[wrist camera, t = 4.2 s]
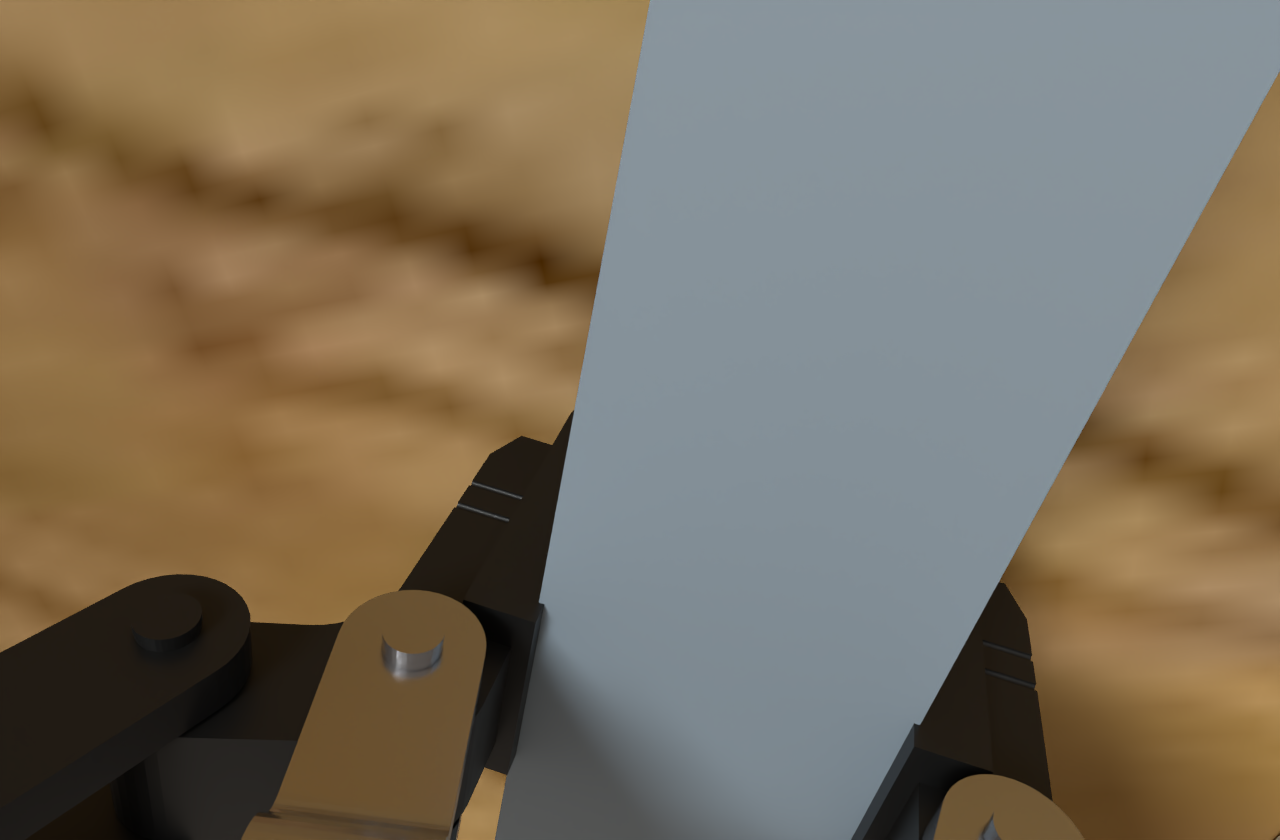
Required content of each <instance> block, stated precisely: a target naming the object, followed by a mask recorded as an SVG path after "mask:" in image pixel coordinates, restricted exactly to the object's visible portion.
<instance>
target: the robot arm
mask: <svg viewBox="0 0 1280 840" xmlns="http://www.w3.org/2000/svg"><path fill="white" fill-rule="evenodd" d="M573 415H574V411H573V412H572V413H571V414H570V416H569V417H568V419H567V421H566V423H565V424H564V426H563V428H562V430H561V431H560V433H559V435H558V436H557V438H556V440H555V442H554V443H553V445H550V444H547V443H543V442H540V441H537V440H533V439H530V438H527V437H524V436H521V437H519V438H517V439H515V440H514V441H512V442H510V443H508V444H507V445H505V446H503V447H501V448H500V449H498V450H496V451H494V452H493V453H491V454H490V455H489V457H488V458H487V460H486V461H485V463H484V464H483V466H482V467H481V469H480V470H479V472H478V473H477V475H476V476H475V478H474V479H473V481H472V485H471V486H469V487H468V488H467V489H466V491H465V492H464V494H463V495H462V497H461V498H460V500H459V501H458V505H457V507H456V508H455V507H454V509H453V510H452V512H451V513H450V515H449V516H448V518H447V519H446V521H445V522H444V524H443V525H442V527H441V528H440V530H439V531H438V533H437V534H436V536H435V537H434V539H433V540H432V542H431V543H430V545H429V546H428V548H427V549H426V551H425V552H424V554H423V555H422V557H421V558H420V560H419V561H418V563H417V564H416V566H415V567H414V569H413V570H412V572H411V573H410V575H409V576H408V578H407V579H406V581H405V582H404V584H403V585H402V587H401V588H400V589H399V591H396V592H390V593H387V594H383V595H380V596H377V597H375V598H373V599H371V600H369V601H367V602H365V603H364V604H362V605H361V606H359V607H358V608H357V609H356V610H354V611H353V612H352V613H351V614H350V615H349V616H348V618H347V619H346V620H345V622H341V623H336V624H327V625H296V624H276V623H256V622H250V613H249V610H248V607H247V604H246V603H245V601H244V600H243V598H242V597H241V596H240V595H239V594H238V593H237V592H236V591H235V590H234V589H232V588H231V587H229V586H228V585H226V584H224V583H222V582H220V581H217V580H215V579H211V578H208V577H204V576H197V575H181V574H176V575H166V576H160V577H155V578H150V579H147V580H143V581H140V582H137V583H134V584H132V585H130V586H128V587H126V588H123V589H121V590H119V591H118V592H116V593H114V594H112V595H110V596H108V597H106V598H104V599H102V600H100V601H98V602H97V603H95V604H93V605H91V606H89V607H87V608H85V609H83V610H81V611H79V612H77V613H75V614H74V615H72V616H70V617H68V618H66V619H64V620H62V621H60V622H58V623H56V624H54V625H53V626H51V627H49V628H47V629H45V630H43V631H41V632H39V633H37V634H35V635H33V636H31V637H30V638H28V639H26V640H24V641H22V642H20V643H18V644H16V645H14V646H12V647H10V648H9V649H7V650H5V651H3V652H1V653H0V840H457V838H458V833H459V828H460V822H461V816H462V813H463V812H464V810H465V808H466V806H467V805H468V802H469V800H470V798H471V796H472V794H473V791H474V789H475V787H476V785H477V783H478V780H479V778H480V776H481V774H482V772H483V769H484V767H485V768H488V769H491V770H494V771H497V772H500V773H503V774H506V775H508V772H509V770H510V768H511V765H512V763H513V761H514V758H515V756H516V751H517V746H518V741H519V736H520V730H521V725H522V720H523V715H524V709H525V704H526V699H527V693H528V688H529V683H530V678H531V672H532V667H533V662H534V657H535V651H536V646H537V641H538V635H539V630H540V625H541V620H542V614H543V609H544V604H542V603H539V599H540V594H541V588H542V583H543V577H544V572H545V566H546V561H547V556H548V550H549V545H550V539H551V534H552V529H553V523H554V518H555V512H556V507H557V502H558V496H559V491H560V485H561V480H562V475H563V469H564V464H565V458H566V453H567V448H568V442H569V437H570V431H571V426H572V421H573ZM1031 656H1032V652H1031V645H1030V638H1029V631H1028V624H1027V619H1026V617H1025V616H1024V614H1023V613H1022V611H1021V609H1020V608H1019V606H1018V604H1017V603H1016V601H1015V599H1014V598H1013V596H1012V595H1011V593H1010V591H1009V590H1008V588H1007V586H1006V585H1005V584H1004V583H1000V582H998V584H997V586H996V588H995V590H994V591H993V593H992V595H991V597H990V599H989V601H988V602H987V604H986V606H985V608H984V610H983V611H982V613H981V615H980V617H979V619H978V621H977V622H976V624H975V626H974V628H973V630H972V631H971V633H970V635H969V637H968V639H967V641H966V642H965V644H964V646H963V648H962V650H961V651H960V653H959V655H958V657H957V659H956V661H955V662H954V664H953V666H952V668H951V670H950V671H949V673H948V675H947V677H946V679H945V681H944V682H943V684H942V686H941V688H940V690H939V691H938V693H937V695H936V697H935V699H934V701H933V702H932V704H931V706H930V708H929V710H928V711H927V713H926V715H925V717H924V719H923V721H922V722H921V724H920V725H918V724H915V723H914V724H913V726H912V728H911V730H910V732H909V734H908V735H907V737H906V739H905V741H904V743H903V745H902V747H901V748H900V750H899V752H898V754H897V756H896V758H895V759H894V761H893V763H892V765H891V767H890V769H889V770H888V772H887V774H886V776H885V778H884V780H883V782H882V783H881V785H880V787H879V789H878V791H877V793H876V794H875V796H874V798H873V800H872V802H871V804H870V805H869V807H868V809H867V811H866V813H865V815H864V816H863V818H862V820H861V822H860V824H859V826H858V828H857V829H856V831H855V833H854V835H853V837H852V839H851V840H1084V838H1083V836H1082V834H1081V833H1080V831H1079V830H1078V828H1077V827H1076V826H1075V824H1074V823H1073V822H1072V821H1071V819H1070V818H1069V817H1068V816H1067V815H1066V814H1065V813H1064V812H1063V811H1062V810H1061V809H1060V808H1059V807H1058V806H1057V805H1056V804H1055V803H1053V800H1052V794H1051V787H1050V780H1049V773H1048V765H1047V758H1046V751H1045V744H1044V737H1043V730H1042V723H1041V716H1040V709H1039V702H1038V695H1037V691H1034V688H1035V685H1036V680H1035V673H1034V666H1033V662H1032V661H1030V659H1031Z"/></svg>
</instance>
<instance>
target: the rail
mask: <svg viewBox="0 0 1280 840" xmlns="http://www.w3.org/2000/svg"><path fill="white" fill-rule="evenodd" d="M1279 71H1280V0H650V4H649V10H648V15H647V21H646V26H645V31H644V37H643V42H642V48H641V53H640V58H639V64H638V69H637V75H636V80H635V85H634V91H633V96H632V102H631V107H630V112H629V118H628V123H627V129H626V134H625V139H624V145H623V150H622V156H621V161H620V166H619V172H618V177H617V183H616V188H615V194H614V199H613V204H612V210H611V215H610V221H609V226H608V231H607V237H606V242H605V248H604V253H603V258H602V264H601V269H600V275H599V280H598V285H597V291H596V296H595V302H594V307H593V312H592V318H591V323H590V329H589V334H588V339H587V345H586V350H585V356H584V361H583V366H582V372H581V377H580V383H579V388H578V394H577V399H576V404H575V410H574V415H573V421H572V426H571V431H570V437H569V442H568V448H567V453H566V458H565V464H564V469H563V475H562V480H561V485H560V491H559V496H558V502H557V507H556V512H555V518H554V523H553V529H552V534H551V539H550V545H549V550H548V556H547V561H546V566H545V572H544V577H543V583H542V588H541V594H540V599H539V603H542V604H544V609H543V614H542V620H541V625H540V630H539V635H538V641H537V646H536V651H535V657H534V662H533V667H532V672H531V678H530V683H529V688H528V693H527V699H526V704H525V709H524V715H523V720H522V725H521V730H520V736H519V741H518V746H517V751H516V756H515V758H514V761H513V763H512V765H511V768H510V770H509V772H508V775H507V777H506V783H505V788H504V794H503V799H502V804H501V810H500V815H499V821H498V826H497V831H496V837H495V840H851V839H852V837H853V835H854V833H855V831H856V829H857V828H858V826H859V824H860V822H861V820H862V818H863V816H864V815H865V813H866V811H867V809H868V807H869V805H870V804H871V802H872V800H873V798H874V796H875V794H876V793H877V791H878V789H879V787H880V785H881V783H882V782H883V780H884V778H885V776H886V774H887V772H888V770H889V769H890V767H891V765H892V763H893V761H894V759H895V758H896V756H897V754H898V752H899V750H900V748H901V747H902V745H903V743H904V741H905V739H906V737H907V735H908V734H909V732H910V730H911V728H912V726H913V724H914V723H915V724H918V725H920V724H921V722H922V721H923V719H924V717H925V715H926V713H927V711H928V710H929V708H930V706H931V704H932V702H933V701H934V699H935V697H936V695H937V693H938V691H939V690H940V688H941V686H942V684H943V682H944V681H945V679H946V677H947V675H948V673H949V671H950V670H951V668H952V666H953V664H954V662H955V661H956V659H957V657H958V655H959V653H960V651H961V650H962V648H963V646H964V644H965V642H966V641H967V639H968V637H969V635H970V633H971V631H972V630H973V628H974V626H975V624H976V622H977V621H978V619H979V617H980V615H981V613H982V611H983V610H984V608H985V606H986V604H987V602H988V601H989V599H990V597H991V595H992V593H993V591H994V590H995V588H996V586H997V584H998V582H999V581H1000V579H1001V577H1002V575H1003V573H1004V571H1005V570H1006V568H1007V566H1008V564H1009V562H1010V561H1011V559H1012V557H1013V555H1014V553H1015V551H1016V550H1017V548H1018V546H1019V544H1020V542H1021V540H1022V539H1023V537H1024V535H1025V533H1026V531H1027V530H1028V528H1029V526H1030V524H1031V522H1032V520H1033V519H1034V517H1035V515H1036V513H1037V511H1038V510H1039V508H1040V506H1041V504H1042V502H1043V500H1044V499H1045V497H1046V495H1047V493H1048V491H1049V490H1050V488H1051V486H1052V484H1053V482H1054V480H1055V479H1056V477H1057V475H1058V473H1059V471H1060V470H1061V468H1062V466H1063V464H1064V462H1065V460H1066V459H1067V457H1068V455H1069V453H1070V451H1071V450H1072V448H1073V446H1074V444H1075V442H1076V440H1077V439H1078V437H1079V435H1080V433H1081V431H1082V430H1083V428H1084V426H1085V424H1086V422H1087V420H1088V419H1089V417H1090V415H1091V413H1092V411H1093V410H1094V408H1095V406H1096V404H1097V402H1098V400H1099V399H1100V397H1101V395H1102V393H1103V391H1104V389H1105V388H1106V386H1107V384H1108V382H1109V380H1110V379H1111V377H1112V375H1113V373H1114V371H1115V369H1116V368H1117V366H1118V364H1119V362H1120V360H1121V359H1122V357H1123V355H1124V353H1125V351H1126V349H1127V348H1128V346H1129V344H1130V342H1131V340H1132V339H1133V337H1134V335H1135V333H1136V331H1137V329H1138V328H1139V326H1140V324H1141V322H1142V320H1143V319H1144V317H1145V315H1146V313H1147V311H1148V309H1149V308H1150V306H1151V304H1152V302H1153V300H1154V299H1155V297H1156V295H1157V293H1158V291H1159V289H1160V288H1161V286H1162V284H1163V282H1164V280H1165V279H1166V277H1167V275H1168V273H1169V271H1170V269H1171V268H1172V266H1173V264H1174V262H1175V260H1176V259H1177V257H1178V255H1179V253H1180V251H1181V249H1182V248H1183V246H1184V244H1185V242H1186V240H1187V238H1188V237H1189V235H1190V233H1191V231H1192V229H1193V228H1194V226H1195V224H1196V222H1197V220H1198V218H1199V217H1200V215H1201V213H1202V211H1203V209H1204V208H1205V206H1206V204H1207V202H1208V200H1209V198H1210V197H1211V195H1212V193H1213V191H1214V189H1215V188H1216V186H1217V184H1218V182H1219V180H1220V178H1221V177H1222V175H1223V173H1224V171H1225V169H1226V168H1227V166H1228V164H1229V162H1230V160H1231V158H1232V157H1233V155H1234V153H1235V151H1236V149H1237V148H1238V146H1239V144H1240V142H1241V140H1242V138H1243V137H1244V135H1245V133H1246V131H1247V129H1248V128H1249V126H1250V124H1251V122H1252V120H1253V118H1254V117H1255V115H1256V113H1257V111H1258V109H1259V108H1260V106H1261V104H1262V102H1263V100H1264V98H1265V97H1266V95H1267V93H1268V91H1269V89H1270V88H1271V86H1272V84H1273V82H1274V80H1275V78H1276V77H1277V75H1278V73H1279Z"/></svg>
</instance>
